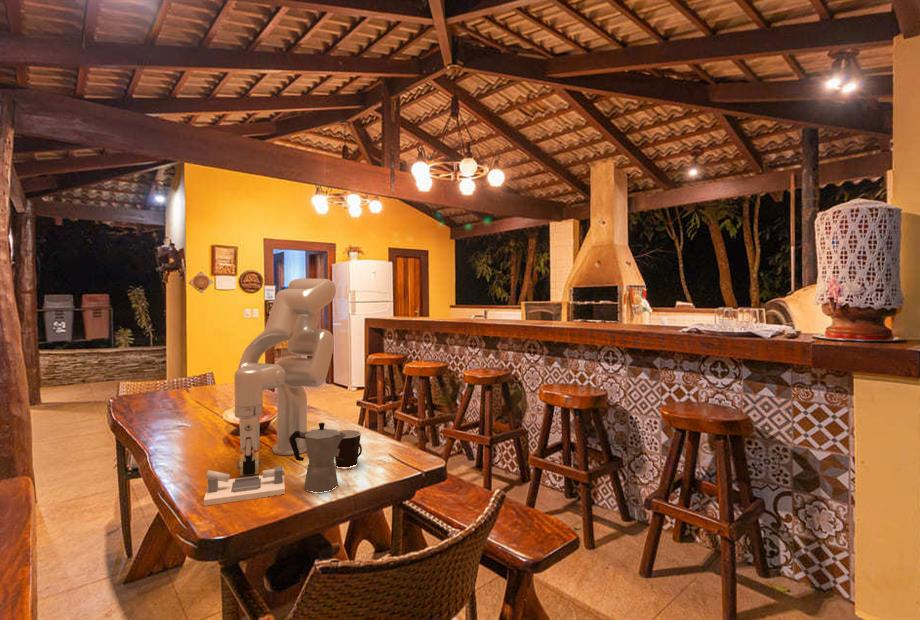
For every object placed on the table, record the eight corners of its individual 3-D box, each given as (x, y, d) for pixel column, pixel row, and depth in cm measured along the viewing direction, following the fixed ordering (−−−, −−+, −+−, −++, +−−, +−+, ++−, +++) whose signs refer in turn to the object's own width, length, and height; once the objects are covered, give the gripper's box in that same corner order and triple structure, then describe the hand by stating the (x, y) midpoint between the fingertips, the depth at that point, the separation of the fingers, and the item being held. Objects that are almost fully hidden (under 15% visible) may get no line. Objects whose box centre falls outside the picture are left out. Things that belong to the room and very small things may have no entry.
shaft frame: (283, 477, 134) (283, 454, 133) (284, 494, 123) (285, 469, 122) (208, 487, 126) (208, 462, 126) (202, 506, 115) (202, 479, 115)
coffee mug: (331, 462, 146) (331, 431, 146) (358, 459, 150) (358, 428, 149) (334, 475, 136) (334, 442, 135) (364, 472, 139) (364, 439, 138)
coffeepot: (348, 480, 133) (349, 418, 132) (341, 494, 123) (342, 427, 123) (294, 480, 132) (294, 418, 131) (283, 494, 123) (283, 427, 122)
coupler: (261, 467, 140) (261, 451, 140) (261, 473, 136) (261, 456, 136) (237, 470, 138) (237, 454, 137) (236, 476, 133) (236, 459, 133)
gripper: (262, 416, 130) (262, 479, 130) (263, 402, 145) (263, 459, 146) (232, 418, 127) (233, 483, 128) (236, 404, 142) (237, 462, 143)
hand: (249, 470), depth 137 cm, fingers closed on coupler, 4 cm apart
